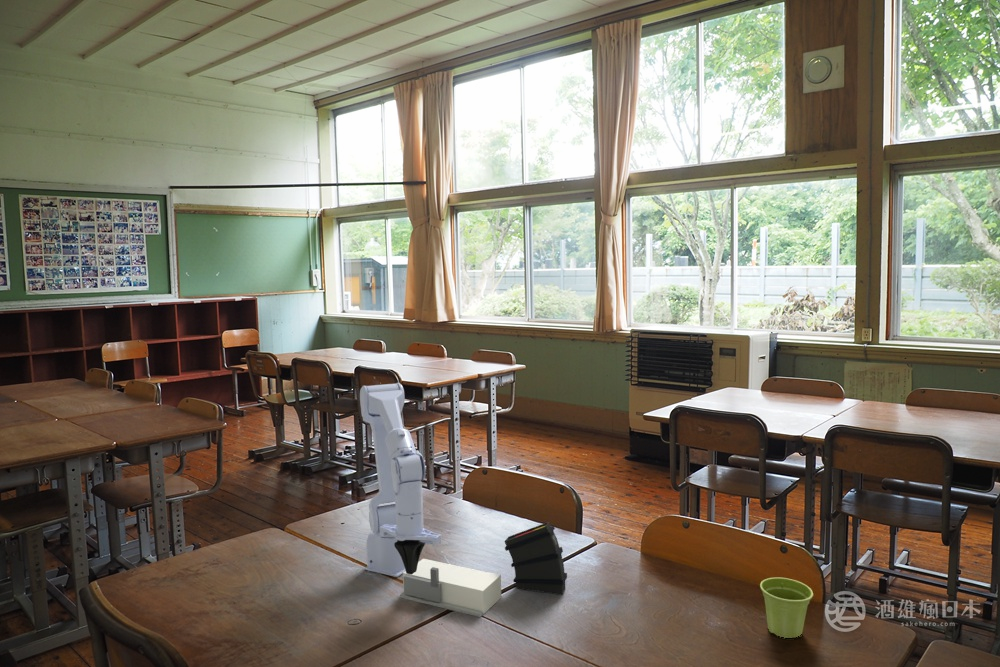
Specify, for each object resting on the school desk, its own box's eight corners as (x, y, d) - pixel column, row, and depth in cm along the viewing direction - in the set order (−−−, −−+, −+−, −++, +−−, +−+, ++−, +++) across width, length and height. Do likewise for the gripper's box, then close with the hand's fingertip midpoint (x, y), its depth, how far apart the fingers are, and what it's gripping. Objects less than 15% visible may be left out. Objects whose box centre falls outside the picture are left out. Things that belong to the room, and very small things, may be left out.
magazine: (576, 591, 147) (546, 526, 148) (524, 607, 151) (495, 545, 152) (580, 583, 150) (551, 520, 151) (529, 600, 155) (501, 539, 156)
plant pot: (806, 621, 136) (807, 579, 135) (816, 647, 127) (818, 602, 126) (756, 616, 138) (756, 575, 137) (763, 642, 129) (764, 597, 128)
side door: (402, 594, 148) (401, 562, 148) (406, 592, 149) (405, 560, 149) (438, 603, 144) (437, 570, 143) (441, 600, 145) (440, 568, 145)
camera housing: (399, 597, 149) (399, 575, 149) (423, 579, 157) (423, 558, 157) (480, 617, 140) (479, 593, 139) (501, 597, 148) (500, 575, 148)
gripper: (370, 512, 146) (372, 573, 147) (427, 522, 139) (429, 586, 140) (390, 501, 152) (392, 560, 153) (445, 511, 145) (447, 572, 147)
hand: (411, 572), depth 147 cm, fingers closed
